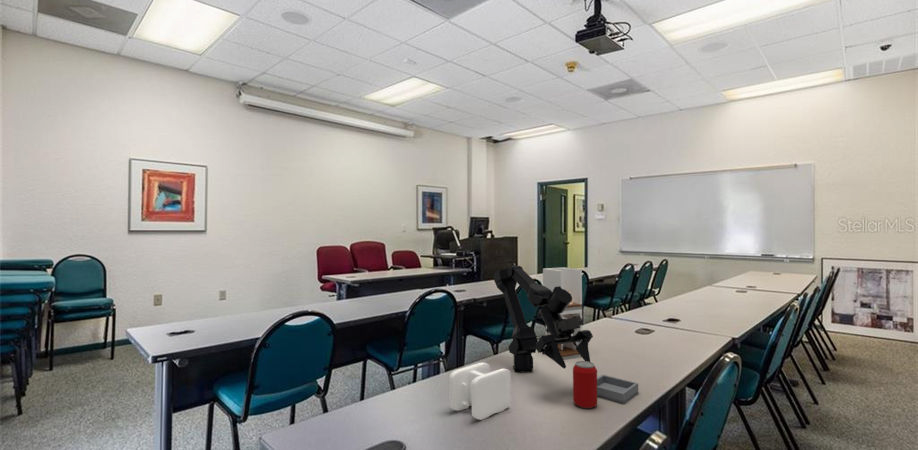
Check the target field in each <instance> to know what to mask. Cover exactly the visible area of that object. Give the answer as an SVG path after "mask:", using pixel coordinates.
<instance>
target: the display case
mask: <svg viewBox="0 0 918 450" xmlns="http://www.w3.org/2000/svg"><path fill="white" fill-rule="evenodd" d="M582 271H583V270H582V269H577V268H570V267H551V268H549V267H547V268H546V267H545V268H542V286H545V287H547V288H548V289H550V290H551V291H552V292H553V290H554V288H555V287H558V286H561V288H562V289H564V290H566V291H567V292H569V293H570V294H571V296H572V301H571V302H570V304H569V305H568V306H567V308H566V309H565V310H564V312H563V313H560V315H561V317H562V319H569V318H572V317H574V316H577V315H579V316H580V317H581V318H582V319H583V272H582ZM580 327H581V328H577V329H574V331H575V332H574V333H573V334H571V335H572V336H575V335H576V334H577V332H578V331H582V330H583V325H581V326H580ZM546 329H547V326H546V325H545V330H546ZM545 335H551V334H550V332H549V333H547V332H546V331H545ZM575 348H576V346H575V345H574V344H573V343H566V344H559V345H558V350H559V352H560V354H561V356H562V358H563V360H564V361H567V360H572V359H579V358H582V357H581V355H580V354H579V353H578V351H577V350H576V349H575Z"/></svg>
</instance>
